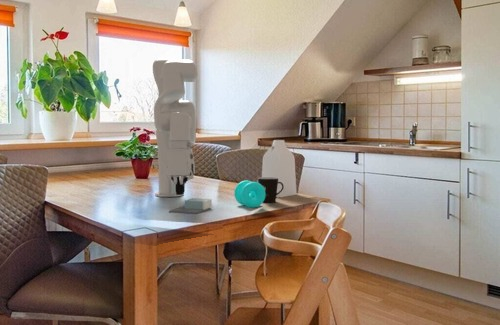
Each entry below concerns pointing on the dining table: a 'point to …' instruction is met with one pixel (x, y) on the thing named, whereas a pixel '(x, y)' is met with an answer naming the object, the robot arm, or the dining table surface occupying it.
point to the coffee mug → (270, 188)
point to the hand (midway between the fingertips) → (180, 194)
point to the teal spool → (249, 188)
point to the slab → (198, 203)
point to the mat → (188, 210)
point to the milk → (280, 167)
